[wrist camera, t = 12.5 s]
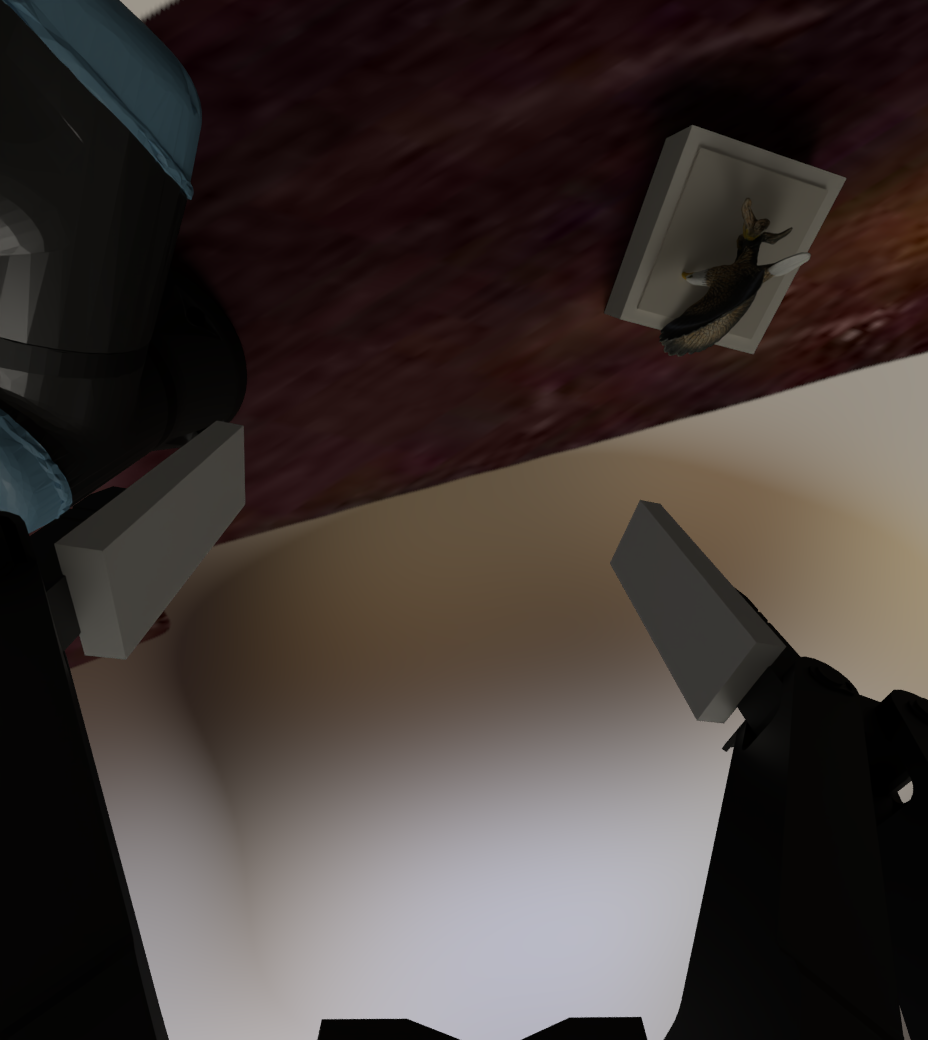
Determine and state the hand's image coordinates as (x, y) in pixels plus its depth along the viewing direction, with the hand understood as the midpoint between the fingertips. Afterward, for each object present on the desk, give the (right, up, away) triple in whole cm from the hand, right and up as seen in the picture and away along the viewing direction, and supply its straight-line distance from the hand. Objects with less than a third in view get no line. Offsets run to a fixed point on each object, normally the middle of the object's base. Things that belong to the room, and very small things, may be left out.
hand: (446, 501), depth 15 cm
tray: (+20, +21, +22) cm, 36 cm away
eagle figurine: (+19, +17, +19) cm, 32 cm away
